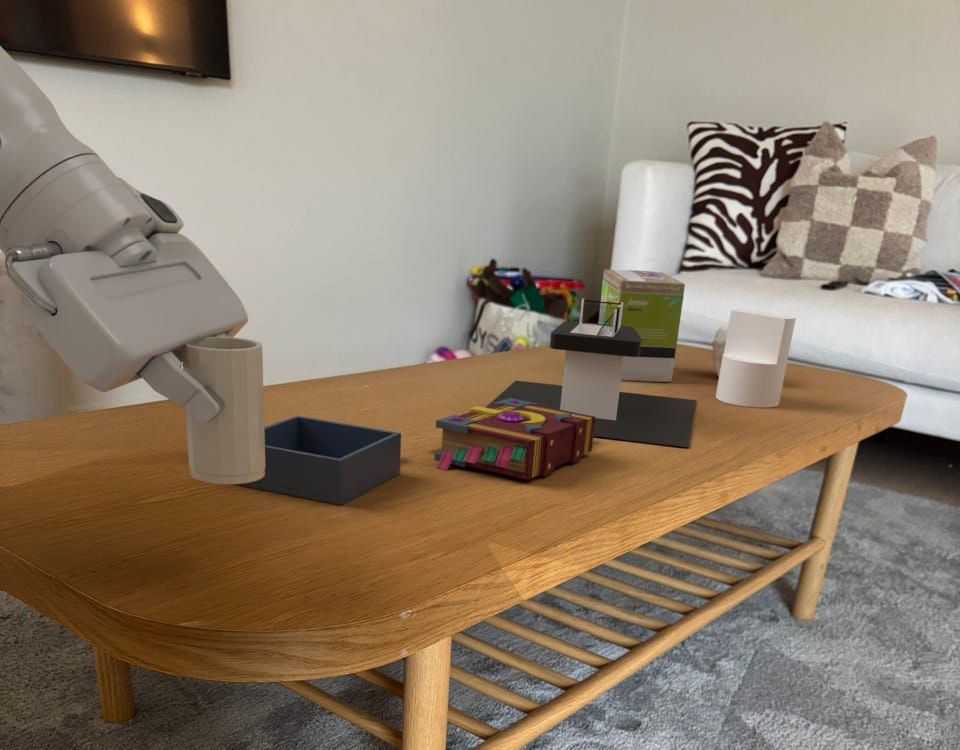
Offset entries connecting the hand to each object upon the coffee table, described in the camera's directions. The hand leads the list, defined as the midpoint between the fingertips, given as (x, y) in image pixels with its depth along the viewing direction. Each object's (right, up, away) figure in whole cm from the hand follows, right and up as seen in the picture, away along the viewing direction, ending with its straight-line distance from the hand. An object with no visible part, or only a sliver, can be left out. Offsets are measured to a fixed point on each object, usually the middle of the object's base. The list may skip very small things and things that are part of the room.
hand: (234, 406), depth 66 cm
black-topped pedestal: (+32, +14, +60) cm, 69 cm away
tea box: (+41, +27, +87) cm, 100 cm away
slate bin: (+1, -1, +26) cm, 26 cm away
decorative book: (+21, +3, +36) cm, 42 cm away
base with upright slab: (+56, +19, +73) cm, 94 cm away
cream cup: (-1, -4, +2) cm, 5 cm away
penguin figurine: (+60, +25, +88) cm, 109 cm away
